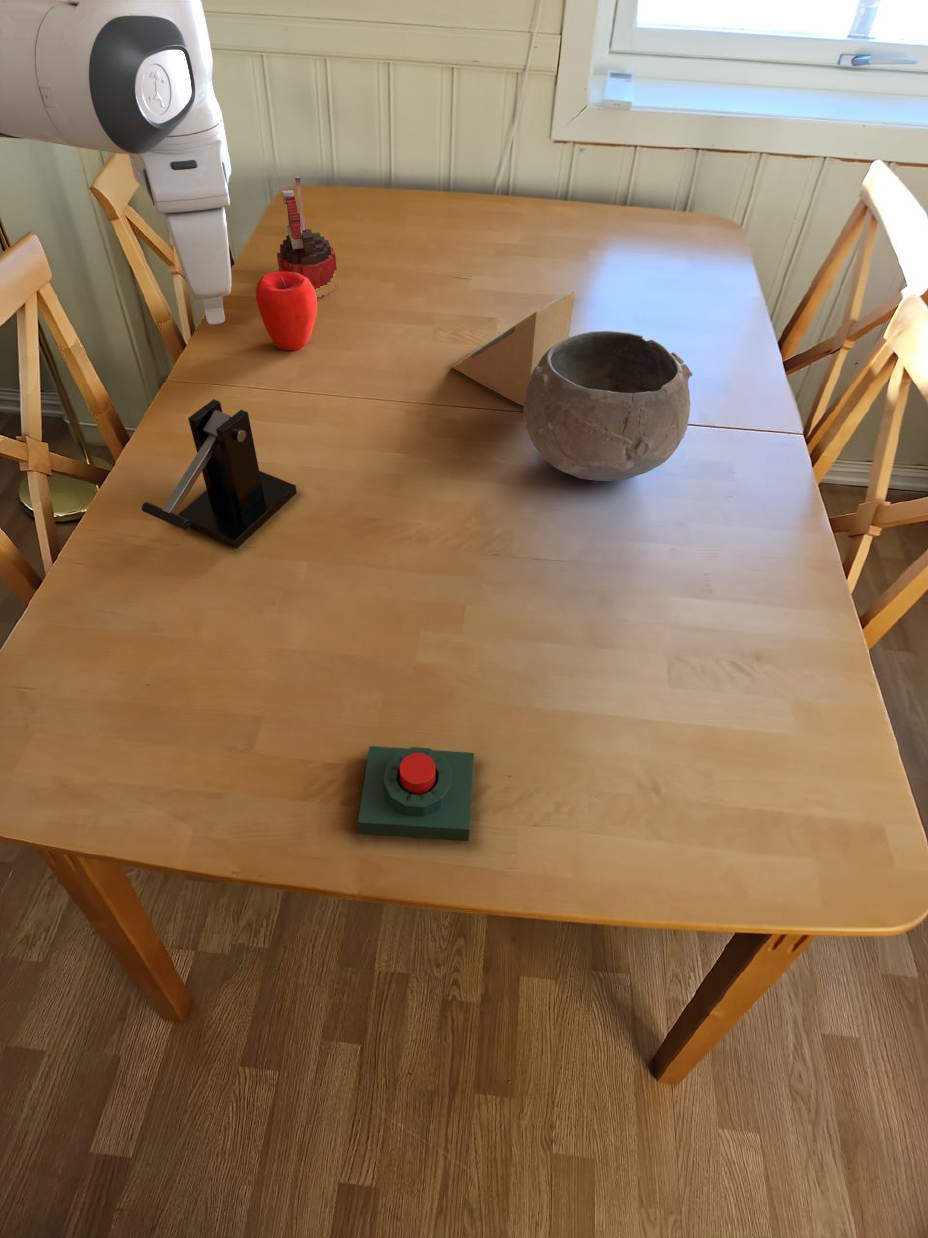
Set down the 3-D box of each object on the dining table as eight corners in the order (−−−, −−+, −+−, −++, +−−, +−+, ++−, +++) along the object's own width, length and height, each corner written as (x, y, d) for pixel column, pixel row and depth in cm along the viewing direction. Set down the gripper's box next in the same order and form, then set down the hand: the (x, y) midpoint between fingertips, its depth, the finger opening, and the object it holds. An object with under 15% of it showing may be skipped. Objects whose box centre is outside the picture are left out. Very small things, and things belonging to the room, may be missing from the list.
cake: (342, 300, 139) (333, 187, 125) (287, 306, 137) (271, 193, 123) (331, 271, 145) (321, 161, 132) (278, 276, 143) (262, 166, 130)
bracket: (236, 548, 98) (214, 455, 88) (178, 523, 101) (150, 429, 91) (296, 493, 105) (282, 400, 95) (241, 470, 108) (221, 378, 98)
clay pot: (495, 478, 109) (503, 378, 97) (551, 398, 121) (564, 302, 110) (649, 527, 103) (676, 428, 92) (690, 438, 116) (719, 341, 105)
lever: (189, 534, 92) (178, 524, 89) (148, 515, 93) (136, 506, 91) (252, 431, 95) (243, 420, 93) (211, 416, 97) (202, 404, 94)
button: (398, 792, 73) (397, 782, 72) (402, 761, 75) (401, 751, 74) (433, 795, 73) (434, 785, 72) (436, 764, 75) (436, 754, 74)
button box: (359, 833, 74) (356, 812, 71) (370, 758, 80) (368, 735, 77) (468, 841, 74) (470, 820, 71) (473, 764, 80) (475, 742, 77)
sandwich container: (487, 346, 130) (493, 252, 119) (563, 385, 124) (576, 290, 112) (450, 367, 126) (452, 272, 115) (526, 408, 119) (536, 311, 108)
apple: (326, 331, 132) (319, 265, 124) (313, 360, 126) (305, 293, 118) (271, 326, 132) (261, 260, 124) (257, 355, 126) (245, 288, 118)
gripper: (135, 118, 81) (168, 257, 91) (153, 201, 68) (190, 352, 79) (200, 113, 82) (225, 250, 93) (230, 194, 70) (256, 342, 80)
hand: (209, 298), depth 86 cm, fingers open, 8 cm apart
